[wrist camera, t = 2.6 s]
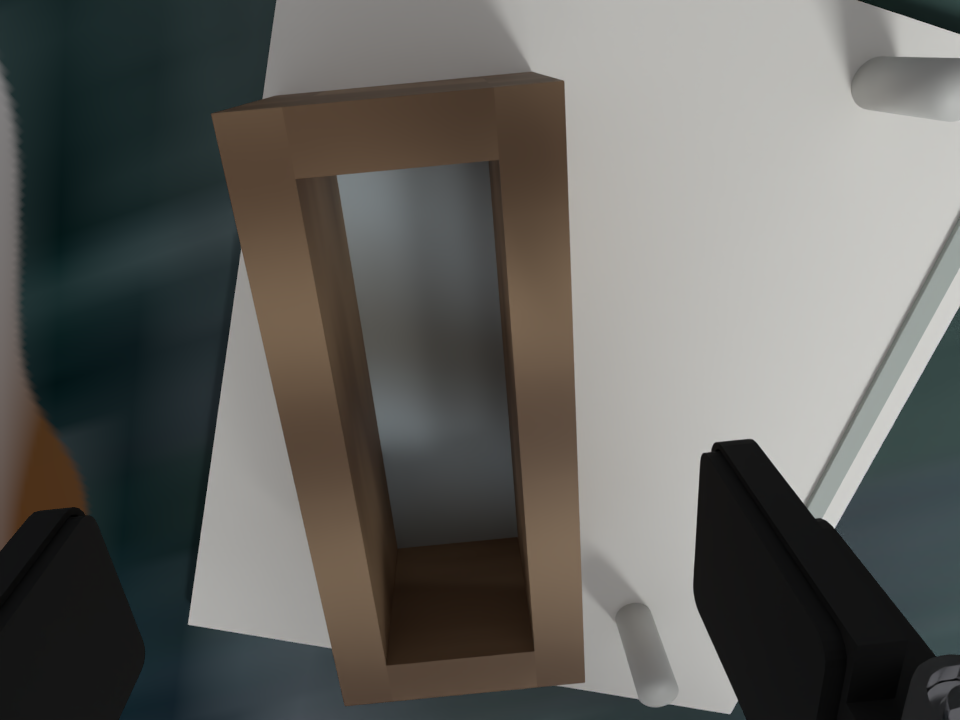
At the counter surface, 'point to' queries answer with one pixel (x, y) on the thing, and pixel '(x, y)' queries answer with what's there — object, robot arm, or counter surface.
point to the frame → (423, 371)
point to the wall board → (657, 282)
